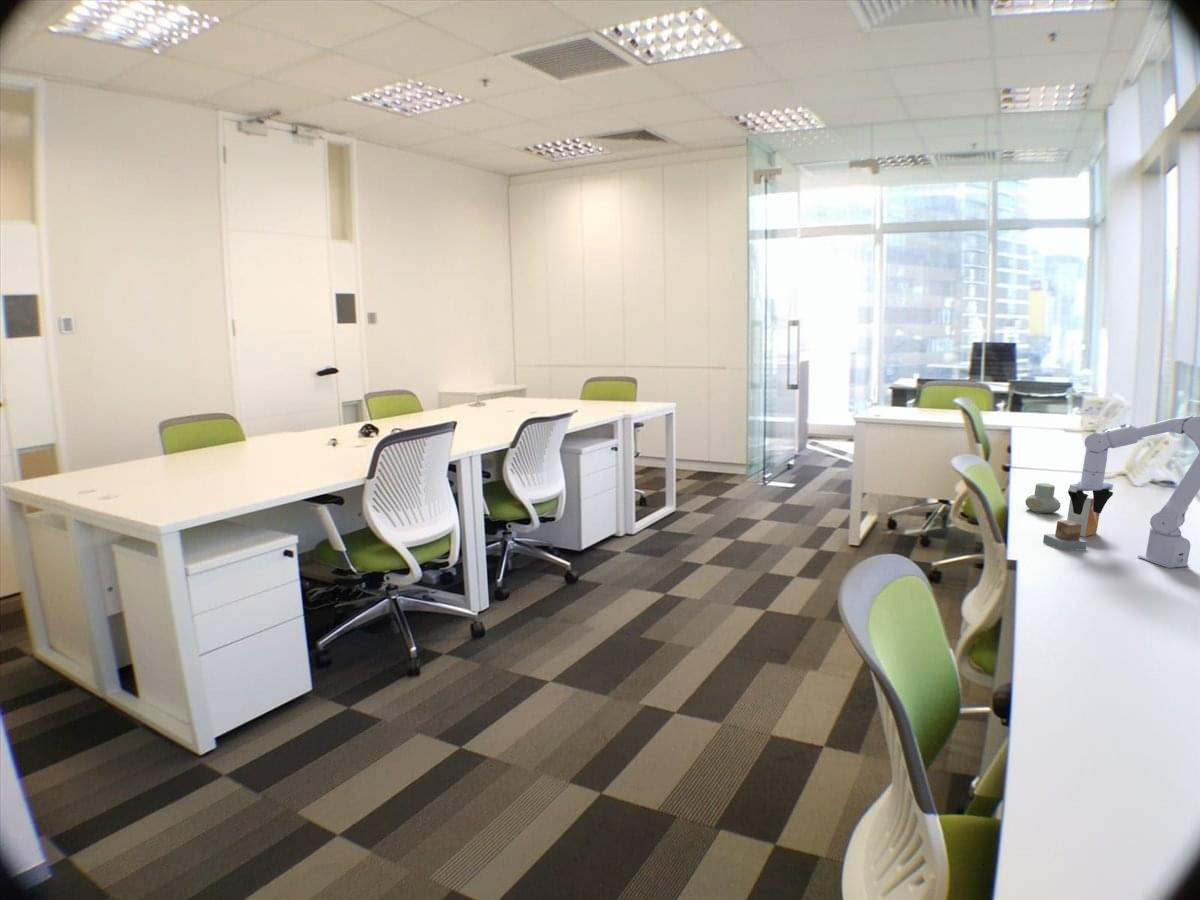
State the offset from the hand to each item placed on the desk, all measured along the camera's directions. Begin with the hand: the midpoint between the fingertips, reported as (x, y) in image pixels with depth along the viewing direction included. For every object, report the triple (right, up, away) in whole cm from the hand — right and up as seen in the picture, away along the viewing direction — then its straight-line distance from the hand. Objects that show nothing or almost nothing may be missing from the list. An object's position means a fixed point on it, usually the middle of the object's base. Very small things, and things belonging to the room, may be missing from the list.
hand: (1087, 513), depth 228 cm
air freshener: (+8, -3, +37) cm, 38 cm away
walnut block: (-7, -8, -1) cm, 10 cm away
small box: (+6, -8, +13) cm, 16 cm away
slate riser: (-7, -11, 0) cm, 13 cm away
